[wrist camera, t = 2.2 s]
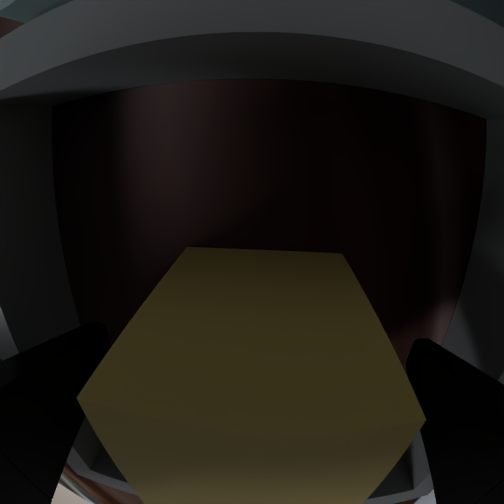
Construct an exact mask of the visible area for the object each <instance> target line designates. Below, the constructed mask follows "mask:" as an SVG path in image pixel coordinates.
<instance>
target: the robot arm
mask: <svg viewBox="0 0 504 504" xmlns="http://www.w3.org/2000/svg"><path fill="white" fill-rule="evenodd" d="M110 348H111V344H110V341H109V337H108V333H107V330H106V326H105V325H104V324H103V323H100V322H94V321H92V322H89V323H87V324H84V325H82V326H80V327H78V328H75V329H73V330H71V331H68V332H66V333H64V334H62V335H59V336H57V337H55V338H52V339H50V340H48V341H46V342H43V343H41V344H39V345H36V346H34V347H32V348H30V349H27V350H25V351H23V352H21V353H18V354H16V355H14V356H11V357H9V358H7V359H5V360H2V361H1V359H0V504H51V501H52V500H51V499H52V498H53V496H54V493H55V490H56V487H57V485H58V482H59V479H60V476H61V474H62V471H63V469H64V466H65V464H66V461H67V459H68V456H69V454H70V451H71V449H72V446H73V444H74V441H75V439H76V437H77V434H78V432H79V430H80V427H81V425H82V423H83V421H84V418H85V416H86V415H85V413H84V411H83V409H82V407H81V405H80V404H79V402H78V400H77V396H78V395H79V393H80V392H81V390H82V389H83V387H84V386H85V384H86V383H87V381H88V380H89V378H90V377H91V375H92V374H93V373H94V371H95V370H96V368H97V367H98V365H99V364H100V362H101V361H102V359H103V358H104V357H105V355H106V354H107V352H108V351H109V349H110ZM406 371H407V375H408V379H409V382H410V384H411V386H412V388H413V390H414V393H415V395H416V397H417V399H418V402H419V404H420V406H421V409H422V411H423V413H424V416H425V418H426V421H425V423H424V424H423V426H422V427H421V429H420V433H421V436H422V440H423V444H424V448H425V452H426V456H427V460H428V464H429V469H430V473H431V478H432V483H433V488H434V493H435V498H436V504H504V384H502V383H500V382H499V381H497V380H496V379H494V378H492V377H491V376H489V375H487V374H486V373H484V372H483V371H481V370H479V369H478V368H476V367H474V366H473V365H471V364H470V363H468V362H466V361H465V360H463V359H461V358H460V357H458V356H456V355H455V354H453V353H452V352H450V351H448V350H447V349H445V348H443V347H442V346H440V345H438V344H437V343H435V342H433V341H432V340H430V339H428V338H423V339H416V340H415V341H414V343H413V345H412V348H411V350H410V353H409V356H408V358H407V361H406Z"/></svg>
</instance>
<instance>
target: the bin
mask: <svg viewBox="0 0 504 504" xmlns="http://www.w3.org/2000/svg"><path fill="white" fill-rule="evenodd" d="M211 79H288V80H304V81H316V82H326V83H335V84H343V85H351V86H358V87H364V88H370V89H376V90H381V91H387V92H392V93H397V94H401V95H406V96H410V97H415V98H419V99H423V100H427V101H431V102H434V103H438V104H441V105H445V106H448V107H452V108H455V109H458V110H461V111H464V112H467V113H470V114H473V115H476V116H479V117H482V118H485V119H487V135H486V157H485V170H484V180H483V189H482V197H481V204H480V210H479V216H478V222H477V227H476V233H475V238H474V242H473V247H472V251H471V256H470V260H469V264H468V268H467V271H466V275H465V279H464V282H463V286H462V289H461V293H460V296H459V299H458V302H457V305H456V308H455V311H454V314H453V317H452V320H451V323H450V325H449V328H448V331H447V333H446V336H445V339H444V341H443V344H442V347H443V348H445V349H447V350H448V351H450V352H452V353H453V354H455V355H456V356H458V357H460V358H461V359H463V360H465V361H466V362H468V363H470V364H471V365H473V366H474V367H476V368H478V369H479V370H481V371H483V372H484V373H486V374H487V375H489V376H491V377H492V378H494V379H496V380H497V381H499V382H500V383H502V384H504V28H503V27H501V26H500V25H498V24H496V23H494V22H493V21H491V20H489V19H487V18H485V17H483V16H481V15H479V14H477V13H475V12H473V11H471V10H469V9H467V8H465V7H463V6H461V5H458V4H456V3H454V2H452V1H449V0H73V1H71V2H68V3H66V4H64V5H62V6H59V7H57V8H55V9H53V10H51V11H49V12H47V13H45V14H43V15H41V16H39V17H37V18H35V19H33V20H31V21H29V22H27V23H26V24H24V25H22V26H20V27H19V28H17V29H15V30H14V31H12V32H10V33H9V34H7V35H5V36H4V37H2V38H1V39H0V359H1V361H2V360H5V359H7V358H9V357H11V356H14V355H16V354H18V353H21V352H23V351H25V350H27V349H30V348H32V347H34V346H36V345H39V344H41V343H43V342H46V341H48V340H50V339H52V338H55V337H57V336H59V335H62V334H64V333H66V332H68V331H71V330H73V329H75V328H78V327H80V326H81V325H80V321H79V318H78V314H77V311H76V307H75V303H74V299H73V295H72V291H71V287H70V283H69V279H68V274H67V269H66V265H65V260H64V254H63V249H62V243H61V237H60V231H59V224H58V217H57V209H56V200H55V189H54V177H53V160H52V106H54V105H58V104H61V103H65V102H69V101H73V100H76V99H81V98H85V97H89V96H93V95H98V94H102V93H107V92H112V91H118V90H123V89H129V88H135V87H141V86H148V85H156V84H164V83H173V82H183V81H195V80H211ZM66 462H67V463H68V464H69V465H70V466H71V468H72V469H73V470H74V471H75V472H76V473H77V474H78V475H81V476H83V477H86V478H88V479H91V480H93V481H96V482H99V483H101V484H104V485H107V486H110V487H113V488H116V489H119V490H122V491H125V492H128V493H131V494H135V495H137V494H136V492H135V491H134V490H133V488H132V487H131V486H130V484H129V483H128V482H127V480H126V479H125V478H124V476H123V475H122V473H121V472H120V470H119V469H118V468H117V466H116V465H115V463H114V462H113V460H112V459H111V457H110V456H109V454H108V452H107V451H106V449H105V448H104V446H103V444H102V443H101V441H100V440H99V438H98V436H97V435H96V433H95V431H94V429H93V428H92V426H91V424H90V422H89V420H88V419H87V417H86V416H85V418H84V421H83V423H82V425H81V427H80V430H79V432H78V434H77V437H76V439H75V441H74V444H73V446H72V449H71V451H70V454H69V456H68V459H67V461H66ZM433 489H434V488H433V483H432V478H431V473H430V469H429V464H428V460H427V456H426V452H425V448H424V444H423V440H422V436H421V433H420V430H419V432H418V434H417V435H416V437H415V438H414V439H413V441H412V442H411V444H410V445H409V447H408V448H407V450H406V451H405V452H404V454H403V455H402V456H401V458H400V459H399V461H398V462H397V463H396V465H395V466H394V467H393V468H392V470H391V471H390V472H389V473H388V475H387V476H386V477H385V478H384V480H383V481H382V482H381V483H380V484H379V486H378V487H377V488H376V489H375V490H374V492H373V493H372V494H371V495H370V496H369V497H368V498H367V499H366V500H365V502H364V503H363V504H394V503H398V502H402V501H406V500H410V499H414V498H418V497H421V496H425V495H428V494H429V493H430V492H431V491H432V490H433Z"/></svg>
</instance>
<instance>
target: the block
mask: <svg viewBox="0 0 504 504" xmlns="http://www.w3.org/2000/svg"><path fill="white" fill-rule="evenodd" d="M77 400H78V402H79V404H80V405H81V407H82V409H83V411H84V413H85V415H86V417H87V419H88V420H89V422H90V424H91V426H92V428H93V429H94V431H95V433H96V435H97V436H98V438H99V440H100V441H101V443H102V444H103V446H104V448H105V449H106V451H107V452H108V454H109V456H110V457H111V459H112V460H113V462H114V463H115V465H116V466H117V468H118V469H119V470H120V472H121V473H122V475H123V476H124V478H125V479H126V480H127V482H128V483H129V484H130V486H131V487H132V488H133V490H134V491H135V492H136V494H137V495H138V496H139V497H140V499H141V500H142V501H143V502H144V504H363V503H364V502H365V500H366V499H367V498H368V497H369V496H370V495H371V494H372V493H373V492H374V490H375V489H376V488H377V487H378V486H379V484H380V483H381V482H382V481H383V480H384V478H385V477H386V476H387V475H388V473H389V472H390V471H391V470H392V468H393V467H394V466H395V465H396V463H397V462H398V461H399V459H400V458H401V456H402V455H403V454H404V452H405V451H406V450H407V448H408V447H409V445H410V444H411V442H412V441H413V439H414V438H415V437H416V435H417V434H418V432H419V430H420V429H421V427H422V426H423V424H424V423H425V421H426V418H425V416H424V413H423V411H422V409H421V406H420V404H419V402H418V399H417V397H416V395H415V393H414V390H413V388H412V386H411V384H410V382H409V379H408V377H407V375H406V373H405V371H404V369H403V367H402V365H401V362H400V360H399V358H398V356H397V354H396V352H395V350H394V348H393V346H392V344H391V342H390V340H389V338H388V336H387V334H386V332H385V330H384V328H383V326H382V324H381V323H380V321H379V319H378V317H377V315H376V313H375V311H374V309H373V307H372V306H371V304H370V302H369V300H368V298H367V296H366V294H365V293H364V291H363V289H362V287H361V285H360V284H359V282H358V280H357V278H356V277H355V275H354V273H353V271H352V270H351V268H350V266H349V264H348V263H347V261H346V259H345V257H344V256H343V254H342V253H323V252H300V251H276V250H252V249H228V248H203V247H186V249H185V250H184V251H183V252H182V254H181V255H180V256H179V257H178V259H177V260H176V261H175V262H174V264H173V265H172V266H171V268H170V269H169V270H168V271H167V273H166V274H165V275H164V277H163V278H162V279H161V280H160V282H159V283H158V284H157V286H156V287H155V288H154V290H153V291H152V292H151V293H150V295H149V296H148V297H147V299H146V300H145V301H144V303H143V304H142V305H141V307H140V308H139V309H138V311H137V312H136V314H135V315H134V316H133V318H132V319H131V320H130V322H129V323H128V324H127V326H126V327H125V329H124V330H123V331H122V333H121V334H120V335H119V337H118V338H117V340H116V341H115V342H114V344H113V345H112V347H111V348H110V349H109V351H108V352H107V354H106V355H105V357H104V358H103V359H102V361H101V362H100V364H99V365H98V367H97V368H96V370H95V371H94V373H93V374H92V375H91V377H90V378H89V380H88V381H87V383H86V384H85V386H84V387H83V389H82V390H81V392H80V393H79V395H78V396H77Z"/></svg>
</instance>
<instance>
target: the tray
mask: <svg viewBox="0 0 504 504" xmlns="http://www.w3.org/2000/svg"><path fill="white" fill-rule="evenodd" d="M71 1H73V0H0V16H1V17H5V18H9V19H12V20H16V21H19V22H23V23H27V22H29V21H31V20H33V19H35V18H37V17H39V16H41V15H43V14H45V13H47V12H49V11H51V10H53V9H55V8H57V7H59V6H62V5H64V4H66V3H68V2H71ZM449 1H452V2H454V3H456V4H458V5H461V6H463V7H465V8H467V9H469V10H471V11H473V12H475V13H477V14H479V15H481V16H483V17H485V18H487V19H489V20H491V21H493V22H494V23H496V24H498V25H500V26H501V27H503V28H504V0H449Z"/></svg>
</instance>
